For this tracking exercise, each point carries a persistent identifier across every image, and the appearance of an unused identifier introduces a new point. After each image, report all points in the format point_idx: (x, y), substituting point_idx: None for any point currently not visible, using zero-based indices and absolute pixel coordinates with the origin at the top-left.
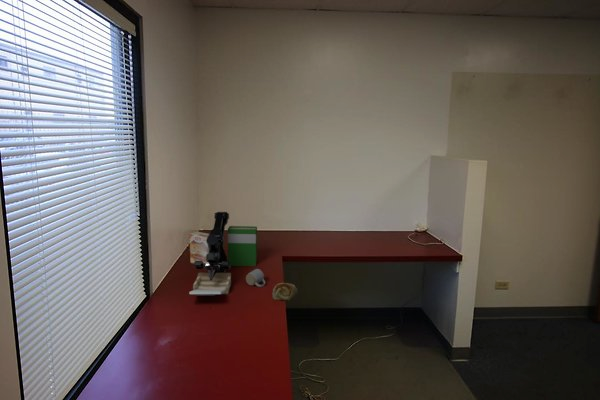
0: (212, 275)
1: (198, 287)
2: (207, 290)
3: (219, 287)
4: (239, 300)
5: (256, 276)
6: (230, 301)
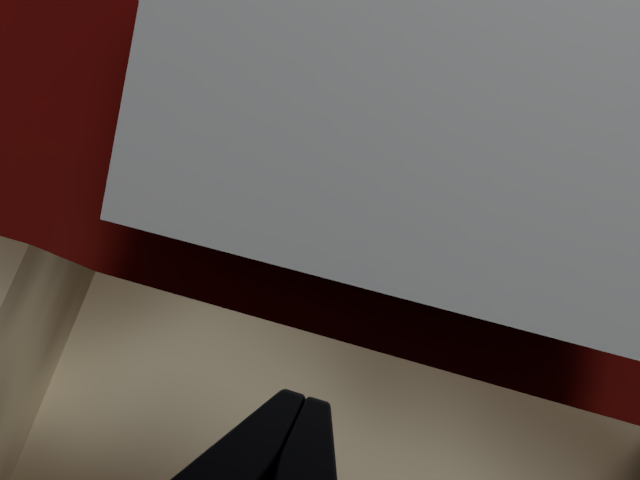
0: (198, 477)
1: None
2: (421, 49)
3: (162, 439)
4: (18, 64)
5: None
6: (124, 61)
